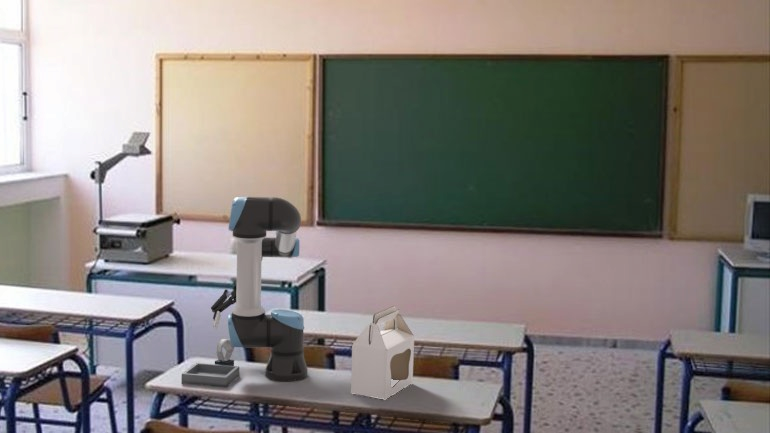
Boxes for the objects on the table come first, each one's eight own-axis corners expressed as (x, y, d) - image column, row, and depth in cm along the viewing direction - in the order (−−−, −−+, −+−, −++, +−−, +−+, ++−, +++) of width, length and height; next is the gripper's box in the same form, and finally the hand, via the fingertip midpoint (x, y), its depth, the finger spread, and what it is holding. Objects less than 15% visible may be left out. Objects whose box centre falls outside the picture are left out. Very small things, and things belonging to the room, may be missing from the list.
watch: (236, 366, 346) (237, 337, 344) (225, 372, 338) (225, 342, 337) (223, 364, 348) (223, 335, 346) (211, 370, 340) (212, 340, 339)
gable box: (385, 401, 312) (387, 318, 309) (350, 394, 318) (352, 313, 315) (413, 383, 332) (415, 306, 329) (379, 377, 338) (382, 301, 334)
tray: (239, 375, 335) (239, 366, 334) (225, 387, 321) (226, 377, 321) (196, 372, 338) (196, 362, 337) (181, 383, 324) (181, 373, 323)
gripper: (278, 289, 364) (266, 336, 351) (217, 285, 368) (202, 331, 355) (274, 278, 358) (262, 326, 345) (212, 274, 362) (197, 321, 349)
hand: (232, 329), depth 350 cm, fingers open, 13 cm apart
